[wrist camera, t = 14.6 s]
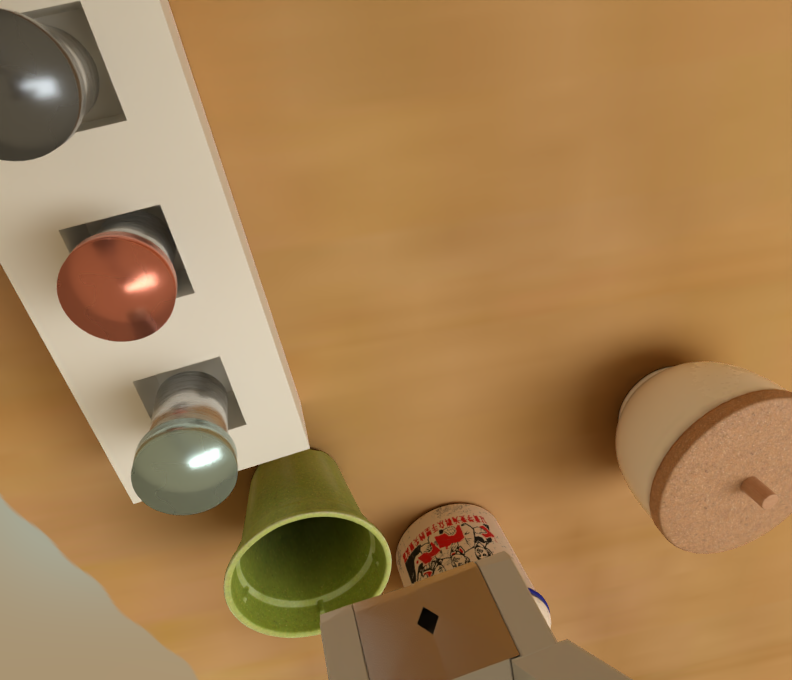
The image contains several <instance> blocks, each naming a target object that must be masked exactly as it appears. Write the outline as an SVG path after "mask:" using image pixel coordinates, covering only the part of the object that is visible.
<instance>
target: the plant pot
mask: <svg viewBox="0 0 792 680" xmlns="http://www.w3.org/2000/svg"><path fill="white" fill-rule="evenodd" d="M391 564H392V558H391V552H390V549H389V546H388V544H387V541H386V540H385V538H384V536H383V535H382V533H381V532H380V531H379V530H378V529H377V528H376V527H375V526H374V525H373V524H372V523H370V522H369V521H368V520H367V519H366V518H365V517H364V516H363V515H362V513H361V512H360V510H359V508H358V506H357V504H356V502H355V500H354V498H353V496H352V494H351V492H350V490H349V488H348V486H347V484H346V482H345V480H344V478H343V476H342V474H341V472H340V470H339V468H338V466H337V464H336V463H335V461H334V460H333V459H332V458H331V457H330V456H329V455H328V454H326V453H324V452H322V451H316V450H311V449H307V450H304V451H300V452H297V453H294V454H291V455H288V456H285V457H281V458H278V459H275V460H272V461H269V462H265V463H262V464H260V465H259V466H258V468H257V469H256V471H255V473H254V476H253V478H252V481H251V484H250V490H249V497H248V504H247V511H246V517H245V523H244V529H243V534H242V540H241V542H240V544H239V546H238V549H237V551H236V552H235V554H234V555H233V557H232V558H231V560H230V562H229V564H228V567H227V570H226V573H225V578H224V596H225V600H226V603H227V605H228V607H229V609H230V611H231V612H232V613H233V615H234V616H235V617H236V618H237V619H238V620H239V621H240V622H241V623H242V624H244V625H245V626H247V627H248V628H251V629H253V630H255V631H257V632H260V633H263V634H266V635H270V636H276V637H284V638H298V637H307V636H313V635H318V634H321V630H320V615H321V614H324V613H327V612H330V611H333V610H336V609H339V608H341V607H344V606H347V605H350V604H353V603H357V602H360V601H363V600H366V599H369V598H372V597H375V596H379V595H381V593H382V592H383V590H384V588H385V586H386V584H387V582H388V580H389V576H390V572H391Z"/></svg>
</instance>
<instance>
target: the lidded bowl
mask: <svg viewBox="0 0 792 680" xmlns="http://www.w3.org/2000/svg"><path fill="white" fill-rule="evenodd" d="M616 455H617V460H618V463H619V467H620V470H621V472H622V475H623V477H624V479H625V481H626V483H627V485H628V487H629V489H630V490H631V492H632V493H633V495H634V497H635V498H636V500H637V501H638V502H639V503H640V505H641V506H642V507H643V509H644V510H645V511H646V512H647V514H648V515H649V516H650V517H651V518H652V520H653V521H654V523H655V525H656V526H657V528H658V529H659V530H660V532H661V533H662V534H663V535H664V537H665V538H666V539H667V540H668V541H669V542H670V543H672V544H673V545H674V546H676V547H678V548H680V549H682V550H684V551H689V552H693V553H703V554H709V553H719V552H723V551H727V550H731V549H734V548H737V547H740V546H743V545H745V544H747V543H749V542H751V541H753V540H755V539H757V538H759V537H760V536H762V535H764V534H766V533H767V532H769V531H770V530H772V529H773V528H774V527H776V526H777V525H778V524H780V523H781V522H782V521H783V520H784V519H786V518H787V517H788V516H789V515H790V514H791V513H792V392H789V391H787V390H786V389H784V388H783V387H781V386H779V385H778V384H776V383H774V382H772V381H771V380H769V379H767V378H765V377H763V376H760V375H758V374H756V373H754V372H751V371H749V370H746V369H744V368H741V367H737V366H734V365H731V364H725V363H719V362H712V361H700V362H689V363H684V364H680V365H677V366H671V367H665V368H662V369H659V370H656V371H654V372H652V373H650V374H649V375H647V376H645V377H644V378H643V379H641V380H640V381H639V382H638V383H637V384H636V385H635V386H634V387H633V388H632V389H631V390H630V391H629V393H628V394H627V396H626V397H625V399H624V401H623V403H622V405H621V408H620V411H619V416H618V425H617V430H616Z"/></svg>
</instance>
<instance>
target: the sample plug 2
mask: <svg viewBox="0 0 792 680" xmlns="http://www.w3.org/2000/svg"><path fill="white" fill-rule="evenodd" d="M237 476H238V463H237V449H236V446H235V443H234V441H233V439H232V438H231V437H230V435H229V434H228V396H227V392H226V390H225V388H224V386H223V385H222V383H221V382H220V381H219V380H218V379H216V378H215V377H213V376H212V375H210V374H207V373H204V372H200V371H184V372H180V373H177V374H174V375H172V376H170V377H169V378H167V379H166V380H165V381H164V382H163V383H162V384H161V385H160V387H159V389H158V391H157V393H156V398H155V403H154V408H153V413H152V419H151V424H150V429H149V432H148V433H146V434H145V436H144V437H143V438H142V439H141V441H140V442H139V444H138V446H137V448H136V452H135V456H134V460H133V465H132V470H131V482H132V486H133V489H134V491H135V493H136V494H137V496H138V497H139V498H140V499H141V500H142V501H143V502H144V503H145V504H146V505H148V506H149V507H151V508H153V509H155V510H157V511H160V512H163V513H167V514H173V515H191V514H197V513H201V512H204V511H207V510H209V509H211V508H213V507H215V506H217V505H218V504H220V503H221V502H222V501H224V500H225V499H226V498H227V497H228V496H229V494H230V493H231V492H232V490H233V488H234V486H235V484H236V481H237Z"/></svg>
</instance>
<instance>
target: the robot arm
mask: <svg viewBox="0 0 792 680" xmlns="http://www.w3.org/2000/svg"><path fill="white" fill-rule="evenodd" d="M320 630H321V636H322V642H323V648H324V654H325V660H326V666H327V672H328V679H329V680H632V679H631V678H629V677H627V676H626V675H624V674H623V673H621V672H619V671H618V670H616V669H615V668H613V667H611V666H610V665H608V664H606V663H605V662H603V661H602V660H600V659H598V658H597V657H595V656H594V655H592V654H590V653H589V652H587V651H585V650H584V649H582V648H581V647H579V646H577V645H576V644H574V643H573V642H571V641H569V640H568V639H566V640H563V641H560V642H557V640H556V638H555V636H554V635H553V633H552V631H551V629H550V627H549V625H548V624H547V622H546V620H545V618H544V616H543V615H542V613H541V611H540V609H539V607H538V605H537V604H536V602H535V600H534V598H533V596H532V594H531V593H530V591H529V589H528V587H527V585H526V584H525V582H524V580H523V578H522V576H521V574H520V573H519V571H518V569H517V567H516V565H515V563H514V562H513V560H512V558H511V556H510V555H509V554H508V553H506V552H505V551H502V552H500V553H497V554H494V555H491V556H489V557H486V558H483V559H480V560H477V561H475V562H473V561H472V562H469V563H466V564H464V565H461V566H458V567H455V568H453V569H450V570H447V571H444V572H442V573H439V574H436V575H434V576H431V577H428V578H425V579H423V580H420V581H417V582H414V584H413V585H410V586H407V587H404V588H400V589H397V590H394V591H391V592H388V593H385V594H382V595H379V596H375V597H372V598H369V599H366V600H363V601H360V602H357V603H353V604H350V605H347V606H344V607H341V608H339V609H336V610H333V611H330V612H327V613H324V614H321V615H320Z"/></svg>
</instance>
